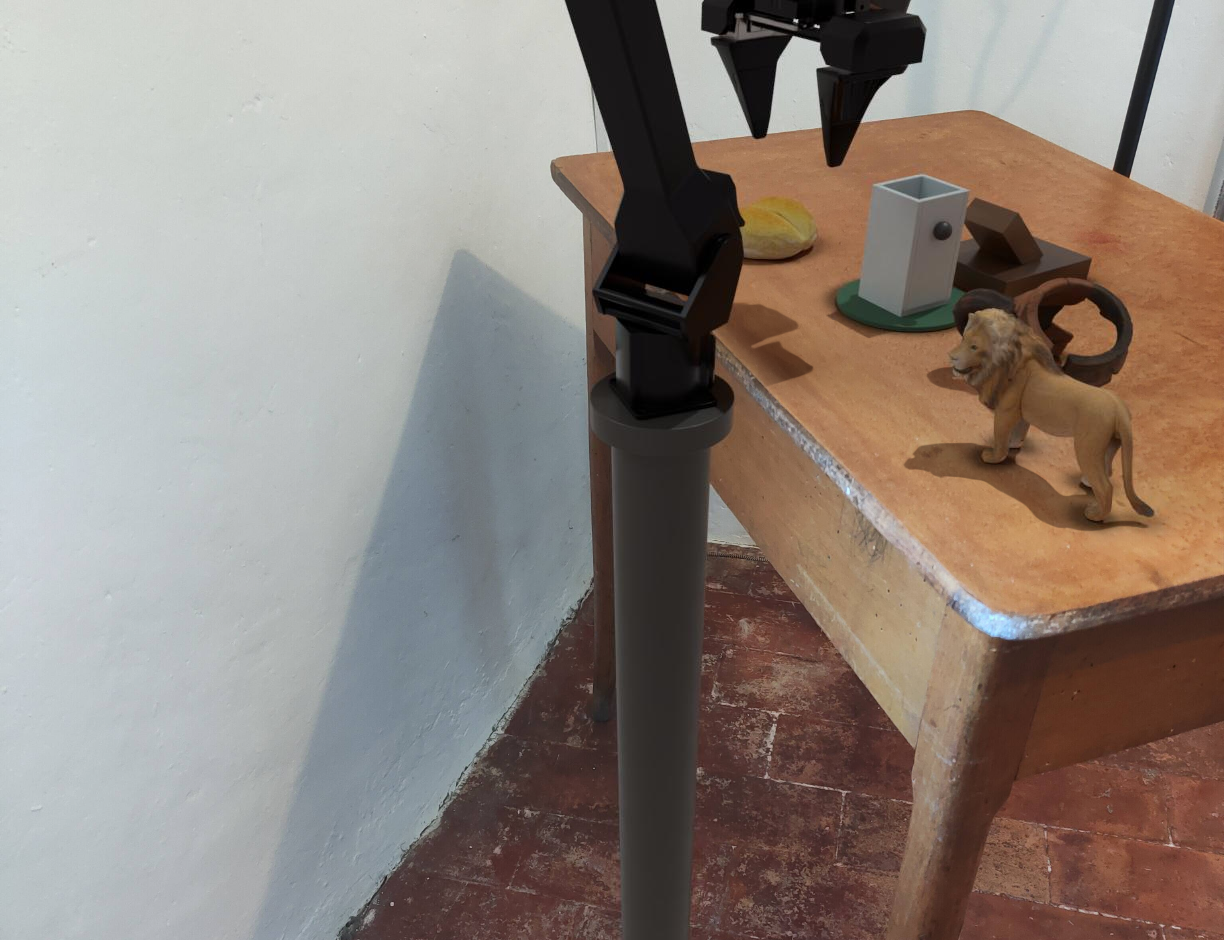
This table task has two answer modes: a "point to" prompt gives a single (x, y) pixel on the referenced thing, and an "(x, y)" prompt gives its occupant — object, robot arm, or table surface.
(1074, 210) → the table surface
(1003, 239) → the tilted cube pedestal
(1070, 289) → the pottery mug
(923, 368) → the table surface
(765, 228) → the bread roll
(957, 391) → the table surface
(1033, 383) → the lion figurine
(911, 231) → the grey storage bin
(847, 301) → the coaster
